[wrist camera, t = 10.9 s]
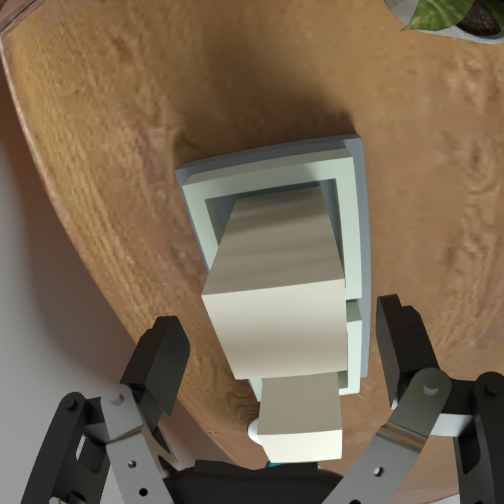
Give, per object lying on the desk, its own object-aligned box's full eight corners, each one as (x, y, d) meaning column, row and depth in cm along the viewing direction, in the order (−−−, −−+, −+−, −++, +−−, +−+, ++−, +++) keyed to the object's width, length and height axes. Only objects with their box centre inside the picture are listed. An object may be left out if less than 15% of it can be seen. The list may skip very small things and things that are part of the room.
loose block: (236, 199, 19) (200, 295, 11) (320, 186, 18) (344, 278, 10) (254, 268, 21) (235, 379, 14) (329, 258, 20) (347, 370, 13)
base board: (181, 163, 20) (99, 247, 11) (356, 133, 17) (424, 197, 8) (252, 375, 30) (239, 472, 21) (364, 364, 28) (378, 463, 19)
